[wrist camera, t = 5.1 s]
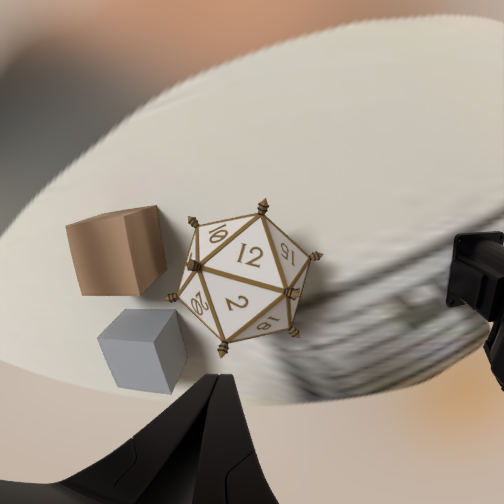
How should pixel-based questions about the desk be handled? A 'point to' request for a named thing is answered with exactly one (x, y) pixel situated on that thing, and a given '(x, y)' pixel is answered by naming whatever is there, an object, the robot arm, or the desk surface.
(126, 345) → the slate block
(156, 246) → the walnut block
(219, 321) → the game die
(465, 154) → the desk surface
